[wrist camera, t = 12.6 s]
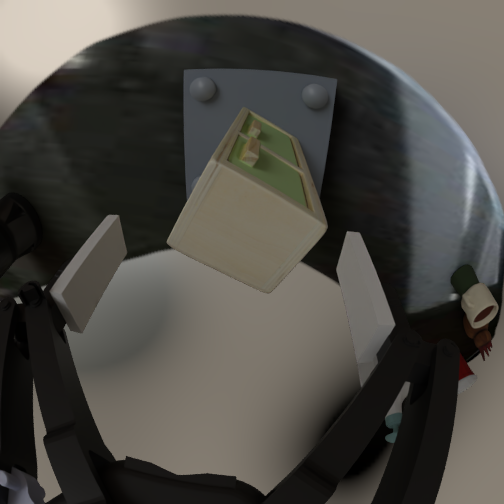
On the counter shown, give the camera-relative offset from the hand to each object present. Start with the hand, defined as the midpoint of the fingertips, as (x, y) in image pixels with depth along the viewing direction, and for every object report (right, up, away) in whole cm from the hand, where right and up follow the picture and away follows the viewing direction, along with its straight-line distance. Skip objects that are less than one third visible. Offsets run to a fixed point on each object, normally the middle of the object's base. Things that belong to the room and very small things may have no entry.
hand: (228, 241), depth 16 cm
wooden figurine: (+59, -17, +42) cm, 75 cm away
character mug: (+47, -5, +35) cm, 59 cm away
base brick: (+2, +17, +22) cm, 28 cm away
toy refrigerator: (+2, +13, +18) cm, 22 cm away
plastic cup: (+66, -34, +55) cm, 92 cm away
